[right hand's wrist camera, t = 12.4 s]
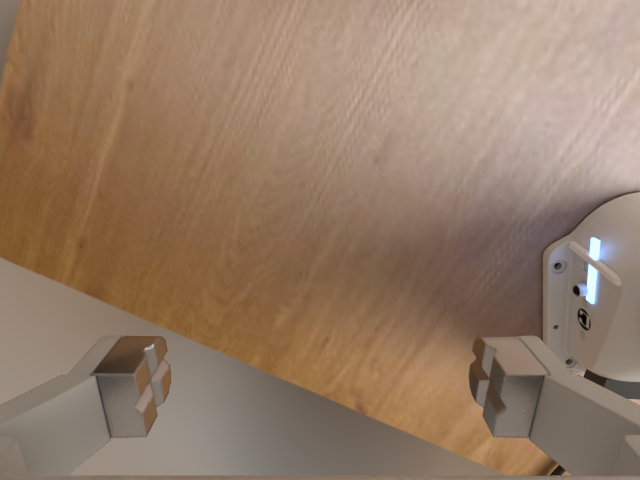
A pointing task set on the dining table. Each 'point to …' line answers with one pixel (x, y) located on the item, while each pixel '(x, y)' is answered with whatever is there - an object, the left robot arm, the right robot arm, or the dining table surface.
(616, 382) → the right robot arm
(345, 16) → the dining table surface
